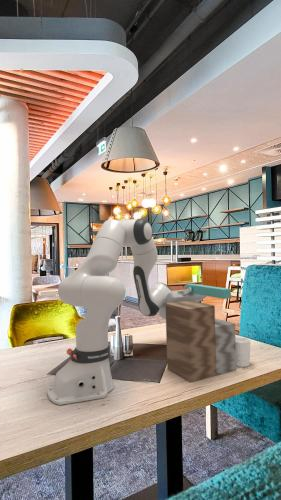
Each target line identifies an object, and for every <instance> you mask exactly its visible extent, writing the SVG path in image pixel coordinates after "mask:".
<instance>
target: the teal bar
mask: <svg viewBox="0 0 281 500" xmlns="http://www.w3.org/2000/svg"><path fill="white" fill-rule="evenodd" d="M189 287H193V291H192V292H190V293H193V294H199V295H204V296H207V297H209V298H211V297H212V298H216V299H221V300H226V299H231V298H232V290H231V289H232V288H228V287H227V288H226V287H218V286H211V285H205V284H197V283H187V284H186V283H185V289H188V288H189Z"/></svg>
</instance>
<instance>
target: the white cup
mask: <svg viewBox="0 0 281 500" xmlns="http://www.w3.org/2000/svg"><path fill="white" fill-rule="evenodd" d="M235 342H236V367H238V368H239V367H240V368H248V367H249V366H250V365H251V364H250V363H251V362H250V361H251V359H250V358H251V339H250V338H247V337H242V336H235Z"/></svg>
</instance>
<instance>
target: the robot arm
mask: <svg viewBox="0 0 281 500" xmlns="http://www.w3.org/2000/svg"><path fill="white" fill-rule="evenodd" d="M123 247H130V251H131V254H132V258H133V269H132V270H133V271H132V272H133V274H132V275H133V280H134V284H135V290H136V294H137V304H138V305H137V306H138V310H139V311H140V313H141V314H142V315H144V316H145V317H154V316H155V317H156V315H157V314H158V315H159V317H161V318H162V319H165V320H166V303H174V302H182V301H195V302H200V303H201V301H203V300H204V299H206V298H207V297H208V296H204V295H199V294H193V293H190V292H192V291H193V287H189V288H188V289H186V288H185V289H180V290H173V289H172V288H171V287H170V286H169V285H167V284H166V283H164V282H156V283H154V284H153V286H152V287H151V288H150V285H149V277H150V274H151V272H152V270H153V268H154V266H155V265H156V263H157V261H158V257H159V256H158V248H157V246H156V243H155V240H154V238H153V227H152V225H151V223H150V222H149V221H148V220H147V219H144V218H137V219H134V218H133V219H132V218H131V219H119V220H118V219H111V218H110V219H107V220H105V221H104V222H103V223H102V224H101V226H100V228H99V229H98V231H97V233H96V235H95V238H94V240H93V242H92V244H91V247H90V249H89V252H88V253H87V255H86V257H85V259H84V260H83V261H82V263H81V264H80V265H79V266H78V268H76V270H74V271H73V272H72V273H71V274H69V275H68V276H66V277H65V278H63V279H61V280H60V281H59V282H60V283H59V285H58V288H57V293H58V294H57V295H58V298H59V300H60V301H61V303H65V304H66V305H69V306H73V307H82V308H83V307H84V308H86V309H87V310H86V315H85V317H84V318H82V319H81V320H80V321H79V322H77V324H76V326H75V348H74V349H72V348H68V349H67V350H66V354H67V355H68V356H70V360H69V361H68V362H67V363H66V364H65V365H64V366H62V367H61V368H60V369H59V370H57V372H56V374H55V376H54V382H53V385H51V386H49V387H48V388H47V390H46V391H47V393H46V394H47V395H46V396H47V397H48V399H49V401H51V402H52V403H53V404H55V405H57V406H58V405H60V406H61V405H68V404H74V403H80V402H81V403H82V402H85V401H86V402H87V401H92V400H99V399H104V398H106V397H107V396H108V393H109V392H112V390H113V389H114V388H115V384H114V380H113V378H112V372H111V365H110V361H111V351H110V345H109V325H110V320H111V317H112V315H113V313H114V312H115V310H116V309H117V308H118V307H119V306H120V305H122V303H123V302H124V300H125V296H126V289H125V286H124V285H125V284H124V283H123V282H122V280H121V279H119V278H117V277H113V276H110V275H109V276H108V275H107V274H110V273H111V272H112V271H114V269H116V267H117V265H118V262H119V259H120V256H121V253H122V249H123Z"/></svg>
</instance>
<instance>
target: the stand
mask: <svg viewBox="0 0 281 500" xmlns="http://www.w3.org/2000/svg"><path fill="white" fill-rule="evenodd" d="M215 307H216V306H215V305H214V304H209V303H204V302H201V301H200V302H195V301H182V302H174V303H166V319H165V330H166V331H165V334H166V335H165V336H166V337H165V338H166V368H167V370H168V371H170V372H171V373H173V374H175V375H177V376H178V377H180V378H182V379H183V380H185V381H187V382H188V383H193V382H197V381H201V380H204V379H208V378H209V379H210V378H213V377H215V376H219V375H222V374H226V373H231V372H233V371H236V370H237V366H236V342H235V337H236V323H235V322H230V321H226V320H222V319H220V318H216V312H215V311H216V310H215Z"/></svg>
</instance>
